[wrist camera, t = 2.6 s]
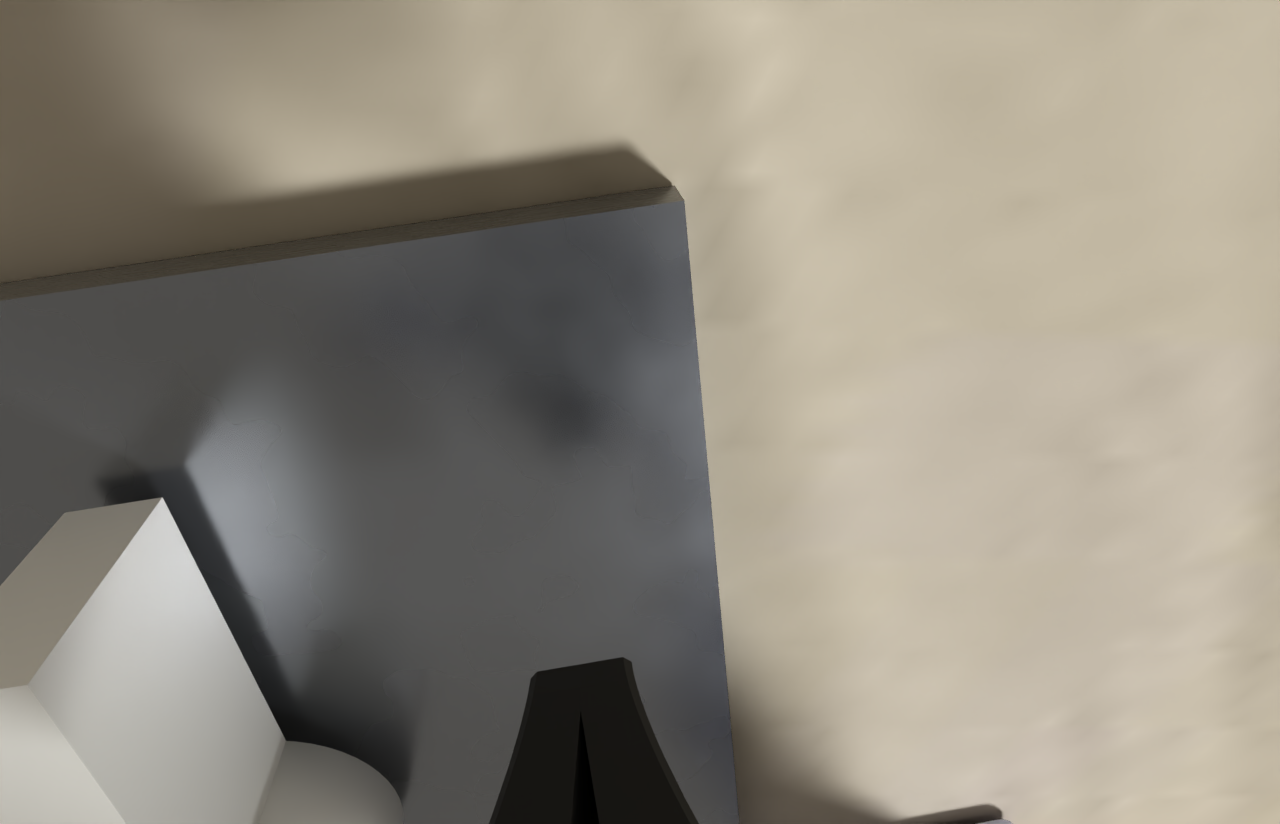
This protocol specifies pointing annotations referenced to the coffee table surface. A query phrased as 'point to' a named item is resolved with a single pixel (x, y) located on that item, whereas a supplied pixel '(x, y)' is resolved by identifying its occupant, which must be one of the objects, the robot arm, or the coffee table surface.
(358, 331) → the base plate
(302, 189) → the coffee table surface
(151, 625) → the white block
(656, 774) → the robot arm
